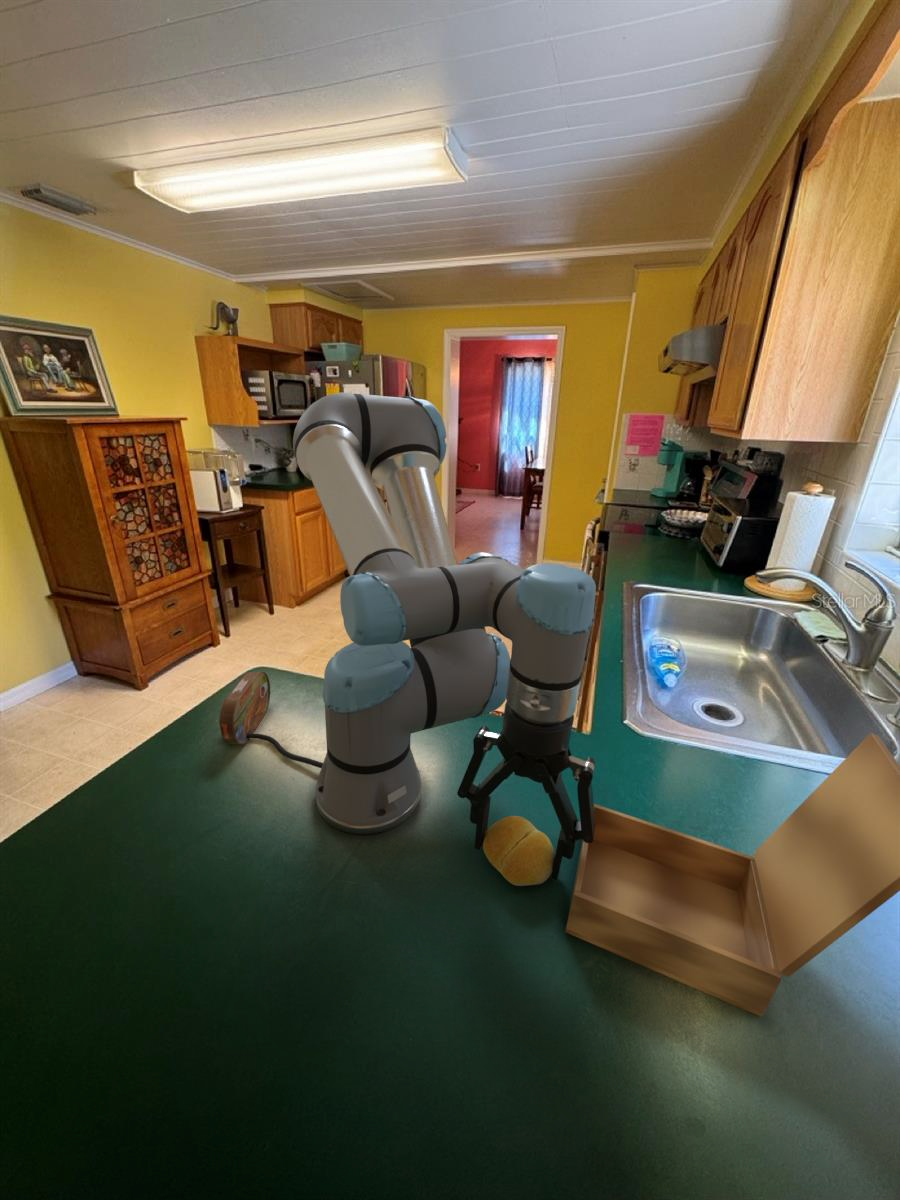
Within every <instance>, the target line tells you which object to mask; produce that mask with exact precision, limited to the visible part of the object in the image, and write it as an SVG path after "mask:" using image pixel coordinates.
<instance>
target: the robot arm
mask: <svg viewBox="0 0 900 1200" xmlns="http://www.w3.org/2000/svg"><path fill="white" fill-rule="evenodd" d="M446 438H447V431H446V426H445V421H444V419H443V416H442V415H441V413H440V411H439V410H438V408H437V407H436V406H435V405H434V404H433V403H432V402H430V401H429V400H426V399H422V398H417V397H416V398H415V397H413V396H410V395H404V396H385V395H375V394H366V393H352V392H344V391H343V392H338V393H337V392H336V393H331V394H328V395H325V396H323V397H321V398H319V399H318V400H316V401H314V402H312V404H310V405H309V406H308V407H307V408H306V409H305V411H303V413H302V415H301V416H300V417H299V419H298V421H297V423H296V425H295V428H294V432H293V437H292V448H293V454H294V459H295V461H296V462H297V466H298V468H299V470H300V472H301V473H302V474H303V476H304V477H305V478H307V479H308V480H309V481H311V482H312V485H313V487H314V490H315V492H316V495H317V497H318V499H319V502H320V504H321V507H322V509H323V512H324V514H325V517H326V520H327V522H328V525H329V527H330V529H331V532H332V534H333V537H334V539H335V542H336V544H337V546H338V549H339V552H340V554H341V557H342V559H343V562H344V564H345V567H346V570H347V572H348V574H349V576H348V577H346V578H345V579H344V580H343V581H342V583H341V587H340V597H339V598H340V599H339V600H340V611H341V616H342V619H343V626H344V629H345V631H346V632H345V633H346V634H347V636H348V638H349V639H350V641H351V643H349V644H347V645H345V646H343V647H341V648H340V649H339V650H337V651H336V652H335V654H333V656H332V657H330V659H329V660H328V662H327V663H326V666H325V669H324V674H323V675H324V676H323V689H322V700H323V703H324V716H325V717H324V718H325V738H326V739H325V741H326V754H325V757H324V760H323V762H321V761H318V760H315V759H312V758H308V757H305V756H301V755H297V754H294V753H291V752H289V751H287V750H286V749H285V748H284V747H283V746H282V745H281V744H280V743H279V741H278V740H276V739H275V738H274V737H272V736H270V735H267V734H262V733H253V734H246V738H250V739H254V740H255V739H256V740H263V741H265V742H268V743H270V744H271V745H272V746H273V747H274V748H275V749H276V750H277V752H278V753H280V754H281V755H282V757H284V758H287V759H289V760H292V761H295V762H300V763H303V764H307V765H310V766H312V767H315V768H318V769H320V771H319V773H318V777H317V780H316V785H315V802H316V809H317V810H318V813H319V814H320V816H321V817H322V819H323V820H324V821H325V822H326V823H327V824H329V825H330V826H331V827H333V828H335V829H337V830H339V831H341V832H344V833H349V834H354V835H372V834H379V833H383V832H387V831H389V830H391V829H393V828H395V827H398V826H400V825H401V824H402V823H404V822H405V821H406V820H407V819H408V818H410V817H411V816H412V815H413V814H414V812H415V811H416V809H417V807H418V805H419V803H420V800H421V796H422V778H421V774H420V771H419V769H418V766H417V763H416V759H415V757H414V755H413V752H412V748H411V735H412V734H415V733H419V732H421V731H426V730H430V729H433V728H434V729H435V728H437V727H442V726H445V725H450V724H454V723H457V722H460V721H464V720H468V719H469V720H470V719H475V718H479V717H481V716H482V715H485V714H489V713H491V712H494V711H497V710H499V708H501V707H502V706H503V705H504V710H503V719H502V726H501V727H502V729H501V731H500V732H499V733H498V732H492V731H490V729H489V727H488V726H486V725H481V726H480V728H479V729H478V731H477V733H476V734H475V736H474V738H473V740H472V741H473V743H472V744H473V745H472V746H473V753H472V756H471V759H470V761H469V762H468V765H467V768H466V770H465V773H464V775H463V777H462V780H461V782H460V784H459V787H458V790H457V792H456V795H457V796H458V797H459V798H461V799H465V798H466V799H467V800H468V801H469V803H470V812H469V821H470V823H472V824H475V825H476V828H475V836H474V845H473V848H474V849H475V850H476V851H477V850H478V851H481V849H482V847H483V841H484V833H485V831H486V830H487V829H488V826H489V815H490V809H491V801H492V800H491V799H492V796H490V795H491V794H492V793H493V792H494V791H495V790H496V789H497V788H498V787H499V786H500V785H501V784H502V783H503V782H504V781H506V780H507V779H508V778H509V777H510V776H511V775H512V774H513V773H514V776H516V777H520V778H528V779H529V780H531V781H533V782H536V783H538V784H541V785H542V787H543V790H544V792H545V794H548V798H549V800H550V802H551V805H552V807H553V810H554V812H555V814H556V817H557V820H558V822H559V825H560V830H559V834H558V840H557V845H556V849H555V850H556V851H555V853H554V854H555V859H554V865H553V869H552V873H551V875H550V879H551V880H553V881H556V882H558V878H559V874H560V870H561V866H562V860H563V858H566V859H568V860H571V859H572V858H573V857H574V852H575V851H574V850H575V847H576V842H577V841H579V840H583V841H584V842H586V843H592V842H593V838H594V832H595V826H596V822H595V812H594V804H595V802H594V790H593V778H594V773H595V767H596V760H595V759H594V758H593V757H591V756H587V757H585V758H584V759H582V758H579V757H578V756H577V757H576V756H574V755H572V752H571V750H570V742H571V736H572V731H573V727H574V726H573V725H574V720H575V713H576V710H577V705H578V699H579V695H580V689H581V682H582V676H583V669H584V668H583V667H584V663H585V660H586V659H585V658H586V653H587V649H588V645H589V644H588V643H589V640H590V635H591V631H592V626H593V625H594V622H595V604H596V593H597V585H596V582H595V580H594V579H593V577H592V576H591V575H590V574H589V573H587V572H585V571H584V570H582V569H579V568H576V567H569V566H566V565H563V564H559V563H558V564H557V563H538V564H533V565H530V566H528V567H527V568H525V569H523V568H522V567H520V566H517V564H514V563H512V562H511V561H509V560H508V559H506V558H503V557H501V556H499V555H495V554H492V553H489V552H482V551H481V552H474V553H472V554H471V555H469V556H467V557H465V559H462V560H461V561H460V562H459V563H458V560H457V557H456V553H455V549H454V546H453V542H452V538H451V534H450V531H449V527H448V523H447V520H446V516H445V511H444V508H443V504H442V501H441V497H440V494H439V490H438V485H437V481H436V477H437V475H438V474H439V472H440V470H441V465H442V464H443V462H444V460H445V457H446V452H447V446H448V445H447V442H446ZM368 470H369V472H370V474H369V472H368ZM377 488H378V489H380V490H382V491H383V492H384V497H385V500H386V504H387V505H386V504H385V502H384V500H383V499H382V497H381V495H380V493H379V491H378V489H377ZM486 627H489V628H493V629H494V630H495V631H497V632H498V633H499V634H500V635H501V636H503V637H504V638H506V639H508V640H510V641H511V654H510V652H509V649H508V647H507V645H506V643H505V642H504V641H503V640H502V638H501V637H500V636H499V635H498V634H496V633H495V634H494V633H491V632H487V629H486ZM405 641H408V642H409V644H407V642H405ZM409 645H410V646H409ZM494 746H496V747H497V749H498V751H499V752H500V755H501V756H502V760H501V761H500V762H499V763H498V764H497V765H496V767H494V769H492V771H491V772H490V773H489V774H488V775H487V776H486V777H485V778H484V779H483V780H482V781H481V782H480V783H478V784H477V785H475V784H474V782H475V779H476V777H477V775H478V772H479V770H480V768H481V766H482V763H483V761H484V759H485V757H486V754H487V752H490V751H492V749H493V747H494ZM568 768H569V769H570V770H571V771H572V777H573V778H574V781H576V782H577V787H576V789H577V800H578V801H577V802H578V811H579V812H578V813H579V818H578V815H577V814H576V811H575V809H574V806H573V804H572V801H571V799H570V798H571V797H570V795H569V793H568V790H567V788H566V786H565V782H564V780H563V775H562V772H564V771H566V770H567V769H568Z"/></svg>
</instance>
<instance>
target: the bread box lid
mask: <svg viewBox="0 0 900 1200" xmlns="http://www.w3.org/2000/svg"><path fill="white" fill-rule="evenodd" d="M753 857H755V862H756V866H757V871H758V875H759V880H760V885H761V889H762V894H763V898H764V903H765V908H766V912H767V917H768V921H769V926H770V930H771V935H772V940H773V944H774V949H775V953H776V958H777V962H778V967H779V972H780V973H781V975H782V976H784V977H787V978H790V977H791V976H792V975H794V974H795V973H796V972H798V971H799V970H801V969H802V968H803V967H804V966H805V965H806V964H808V963H809V962H810V961H811V960H813V959H814V958H815V957H816V956H818V955H819V954H820V953H822V952H823V951H825V950H826V949H827V948H829V947H830V946H831V945H832V944H833V943H834V942H836V941H837V940H839V939H840V938H842V937H843V936H844V935H845V934H846V933H847V932H849V931H850V930H852V929H853V928H854V927H855V926H857V925H858V924H859V923H860V922H862V921H864V920H865V918H867V917H869V915H871V914H872V913H873V912H875V911H876V910H878V908H880V907H881V906H883V905H884V904H885V903H886V902H887V901H889V900H890V899H892V898H893V897H894V896H895V895H897V894H898V893H899V892H900V764H899V762H898V761H897V759H896V758H895V757H894V756H893V753H891V751H890V750H889V748H888V747H887V746H886V744H885V743H884V741H883V740H882V738H881V737H880V736H879V735H877V734H874V733H872V732H870V733H869V734H868V735H867V736H866V737H865V738H864V739H863V740H862V741H861V743H859V745H857V747H856V748H855V749H853V750H852V752H851V753H850V754H849V755H847V757H846V758H845V759H843V761H841V763H840V764H839V765H837V767H836V768H835V769H834V770H833V771H832V772H831V773H830V774H829V775H828V776H827V777H826V778H825V779H824V780H823V781H822V782H821V783H820V784H819V785H818V786H817V788H816V789H814V790H813V791H812V792H811V793H810V794H809V795H808V797H807V798H806V799H804V801H802V803H800V805H799V806H798V807H797V808H796V809H795V810H794V811H793V812H791V814H790V815H789V816H788V817H787V818H786V819H785V820H784V821H783V822H782V823H781V824H780V825H779V826H777V828H776V829H775V830H774V832H772V833H771V834H770V835H769V837H767V838H766V839H765V840H764V842H763V843H762V844H761V845H760V846H758V848H757V849H756V850H754V851H753Z"/></svg>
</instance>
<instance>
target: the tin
mask: <svg viewBox="0 0 900 1200" xmlns="http://www.w3.org/2000/svg"><path fill="white" fill-rule="evenodd" d="M270 700H271V682H270V678H269V676H268V674H267V673H266V672H265V671H263V670H262V671H249V672H246V673H245V674H244V675H243V676H242V677H241V678H240V680H239V681H238V682H237V684H236V685H235V686H234V687H233V689H232V690H231V691H230V693H228V695H227V696H226V698H225V699H224V701H223V703H222V705H221V707H220V711H219V719H218V724H219V728H220V734H221V737H222V740H223V742H225V743H226V744H232V745H237V744H238V745H245V744H247V743H248V742H249V741H250V739H251V738H246V734H255V731H256V730H257V728H258V726H259V724H260V723H261V721H262V720H263V718H264V716H265V715H266V713H267V711H268V708H269V705H270Z"/></svg>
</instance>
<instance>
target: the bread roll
mask: <svg viewBox="0 0 900 1200" xmlns="http://www.w3.org/2000/svg"><path fill="white" fill-rule="evenodd" d="M482 849H483V853H484V855H485V857H486V859H487V860H488V862H489V863H490V865H492V866H493V867H494V869H496V870H497V871H498V872H499V873H500V874H501V876H503V878H504V879H505V881H507V882H509V883H510V884H511V885H513V886H516V887H526V886H535V885H541V884H544V882H546V881H547V880H548V879H549V878H550V877H551V875H552V870H553V865H554V859H555V854H556V853H555V849H554V847H553V844H552V842H551V839H550V838H549V836H548V835H547V834H545V833H544V832H542V831H541V830H538V828H536V827H535V826H534V824H533V823H531V822H530V821H529V819H526V818H525V817H523V816H520V815H508V816H505V817H503V818H501V819H498V820H497V821H495V822H494V823H493V824H492V825H490V826H489V827H487V830H486V831H485V833H484V841H483V844H482Z"/></svg>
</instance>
